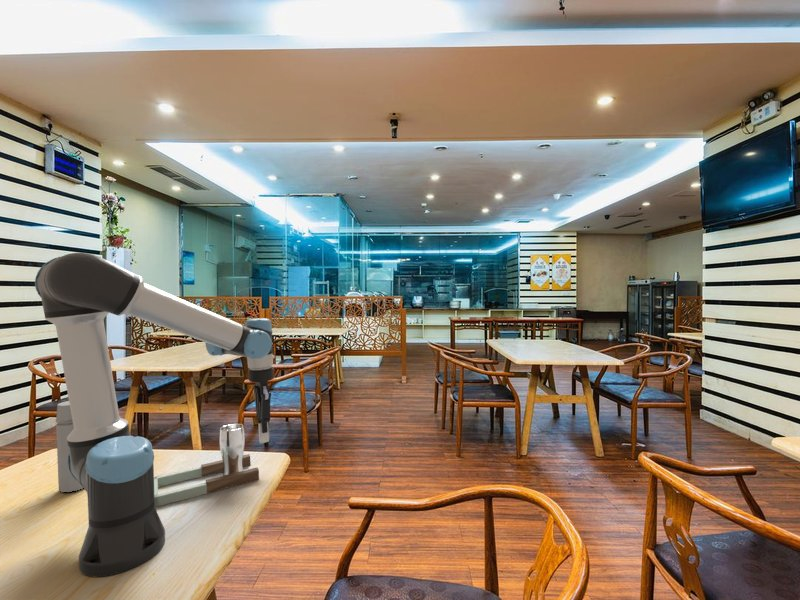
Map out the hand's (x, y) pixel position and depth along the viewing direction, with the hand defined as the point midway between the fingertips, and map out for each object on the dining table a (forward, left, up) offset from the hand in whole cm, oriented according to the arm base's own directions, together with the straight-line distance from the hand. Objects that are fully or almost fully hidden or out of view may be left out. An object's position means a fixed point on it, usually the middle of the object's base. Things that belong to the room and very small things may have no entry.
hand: (264, 441), depth 125 cm
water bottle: (+19, +48, -9) cm, 53 cm away
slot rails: (0, +10, -8) cm, 13 cm away
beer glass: (0, +9, -9) cm, 13 cm away
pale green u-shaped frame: (0, +24, -8) cm, 25 cm away
